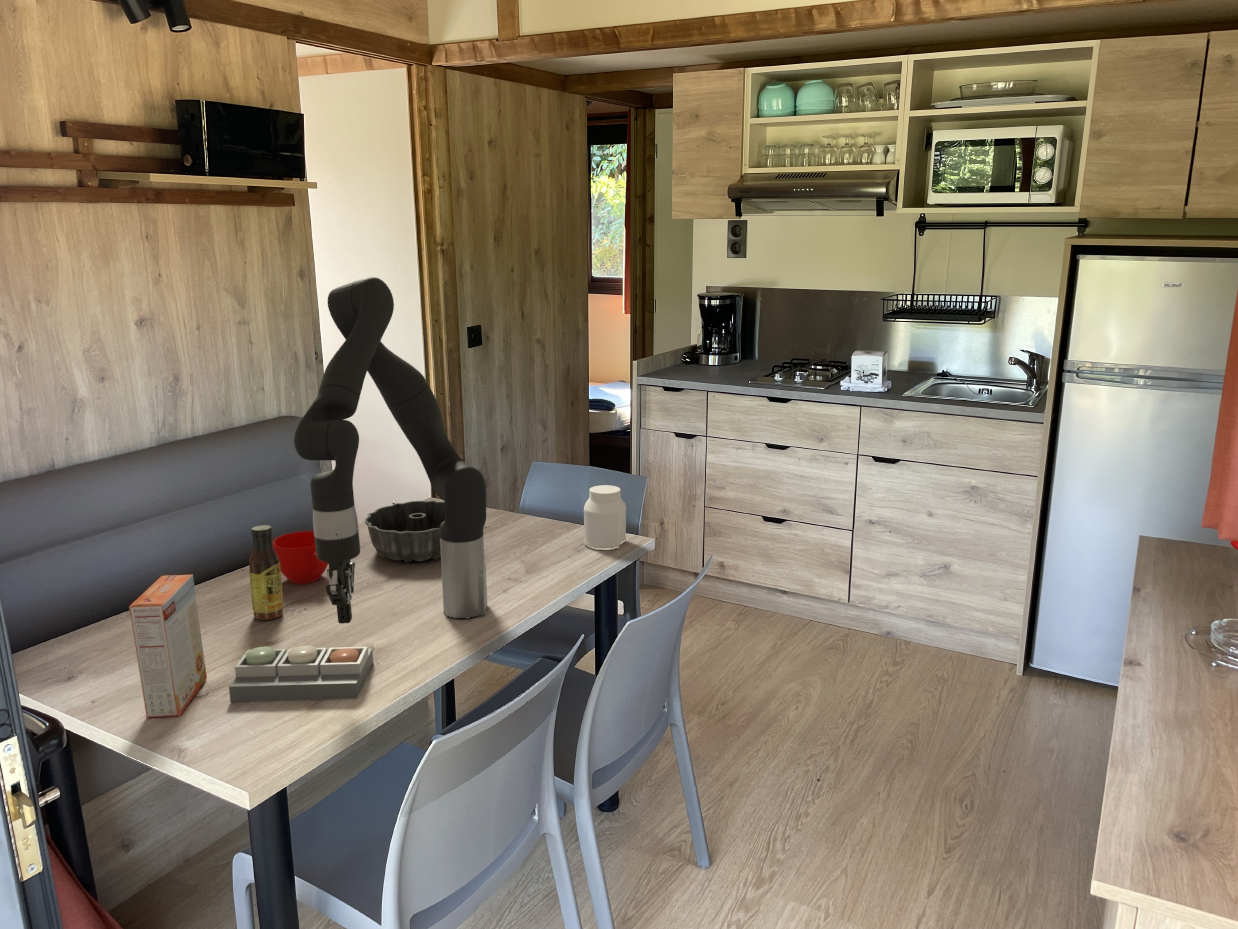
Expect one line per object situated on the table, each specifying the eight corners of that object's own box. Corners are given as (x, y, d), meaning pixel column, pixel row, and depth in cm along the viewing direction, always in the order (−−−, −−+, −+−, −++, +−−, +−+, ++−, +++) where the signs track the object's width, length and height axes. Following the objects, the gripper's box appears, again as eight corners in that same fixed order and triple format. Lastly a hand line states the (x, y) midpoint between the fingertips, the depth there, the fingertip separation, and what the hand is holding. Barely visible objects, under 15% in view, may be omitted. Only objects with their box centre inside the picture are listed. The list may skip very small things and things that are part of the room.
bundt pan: (423, 576, 220) (421, 537, 218) (344, 557, 233) (341, 520, 231) (491, 545, 242) (489, 509, 240) (416, 529, 255) (414, 495, 253)
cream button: (320, 652, 170) (319, 645, 169) (313, 665, 165) (312, 657, 165) (293, 653, 170) (292, 645, 169) (285, 665, 165) (284, 658, 164)
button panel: (373, 662, 176) (371, 638, 175) (357, 698, 162) (355, 672, 161) (256, 665, 175) (254, 641, 173) (230, 702, 161) (227, 676, 160)
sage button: (279, 653, 169) (278, 646, 169) (270, 666, 165) (270, 658, 164) (251, 654, 169) (250, 647, 169) (242, 666, 164) (241, 659, 164)
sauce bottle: (273, 622, 194) (264, 533, 189) (247, 620, 195) (237, 532, 190) (290, 610, 200) (282, 524, 195) (264, 608, 201) (256, 522, 196)
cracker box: (174, 680, 169) (160, 574, 164) (208, 679, 169) (195, 573, 164) (142, 719, 155) (126, 604, 150) (179, 717, 156) (164, 603, 151)
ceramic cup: (296, 598, 207) (292, 556, 204) (267, 578, 219) (263, 538, 217) (350, 584, 215) (347, 544, 213) (319, 565, 227) (316, 527, 225)
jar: (596, 535, 250) (595, 482, 246) (629, 538, 247) (629, 485, 243) (580, 548, 240) (579, 493, 236) (614, 552, 236) (614, 496, 233)
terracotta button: (361, 655, 170) (361, 647, 170) (355, 667, 166) (355, 660, 165) (334, 656, 170) (333, 648, 170) (327, 668, 165) (326, 660, 165)
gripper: (350, 542, 155) (359, 636, 160) (365, 518, 168) (373, 606, 172) (305, 544, 155) (315, 638, 159) (323, 520, 167) (332, 608, 172)
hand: (345, 621), depth 166 cm, fingers closed
